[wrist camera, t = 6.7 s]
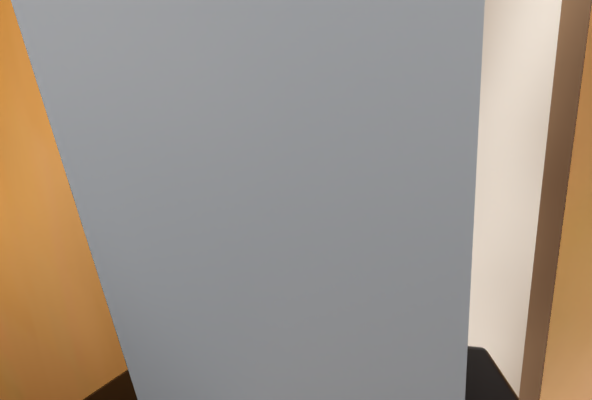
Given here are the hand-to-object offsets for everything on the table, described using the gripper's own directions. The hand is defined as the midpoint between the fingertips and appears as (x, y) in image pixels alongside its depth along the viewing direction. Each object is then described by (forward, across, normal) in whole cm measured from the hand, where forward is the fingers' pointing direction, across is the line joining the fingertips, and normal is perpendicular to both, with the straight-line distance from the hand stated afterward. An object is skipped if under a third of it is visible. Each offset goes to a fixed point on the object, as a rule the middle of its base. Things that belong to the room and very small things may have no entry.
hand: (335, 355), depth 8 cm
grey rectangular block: (+1, 0, 0) cm, 1 cm away
